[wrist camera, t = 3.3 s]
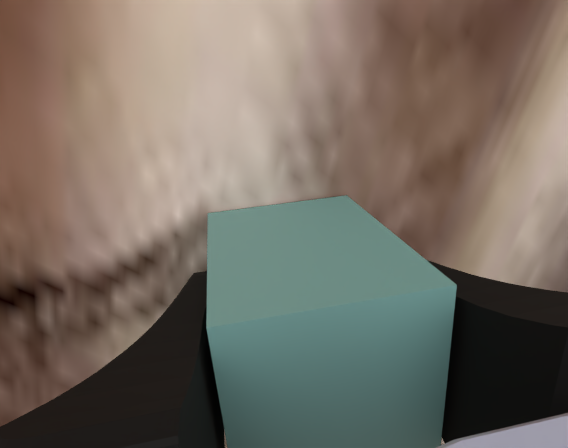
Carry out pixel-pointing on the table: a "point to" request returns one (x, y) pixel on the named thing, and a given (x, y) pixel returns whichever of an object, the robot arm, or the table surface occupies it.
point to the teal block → (325, 329)
